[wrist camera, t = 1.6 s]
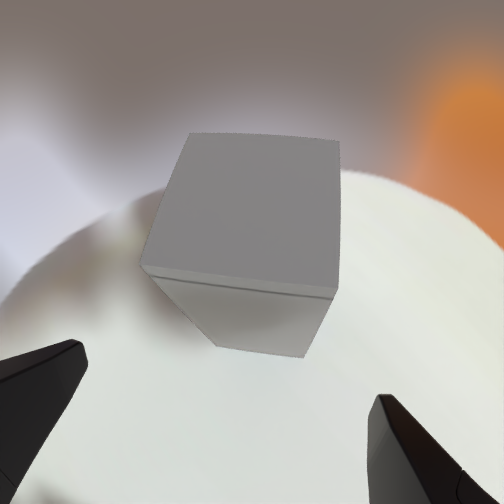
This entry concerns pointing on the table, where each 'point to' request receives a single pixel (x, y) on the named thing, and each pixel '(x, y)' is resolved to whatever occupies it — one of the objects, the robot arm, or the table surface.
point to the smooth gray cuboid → (250, 239)
